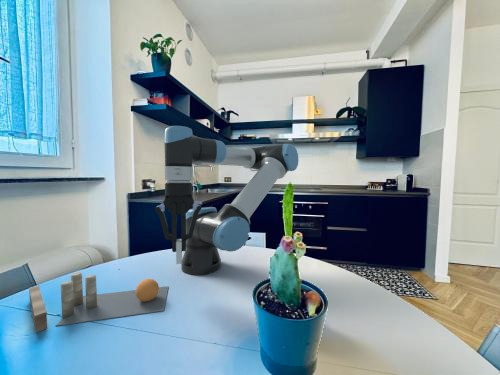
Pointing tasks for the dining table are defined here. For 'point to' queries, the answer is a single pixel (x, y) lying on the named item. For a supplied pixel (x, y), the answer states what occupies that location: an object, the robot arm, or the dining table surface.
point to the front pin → (91, 291)
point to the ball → (147, 290)
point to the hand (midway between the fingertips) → (179, 262)
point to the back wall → (38, 309)
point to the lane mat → (116, 307)
